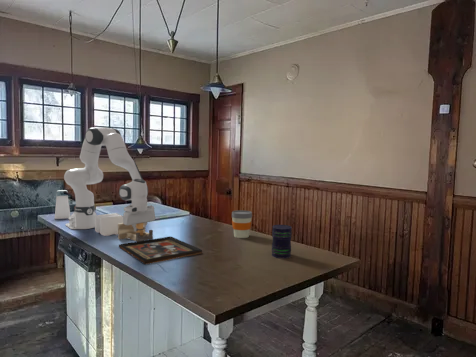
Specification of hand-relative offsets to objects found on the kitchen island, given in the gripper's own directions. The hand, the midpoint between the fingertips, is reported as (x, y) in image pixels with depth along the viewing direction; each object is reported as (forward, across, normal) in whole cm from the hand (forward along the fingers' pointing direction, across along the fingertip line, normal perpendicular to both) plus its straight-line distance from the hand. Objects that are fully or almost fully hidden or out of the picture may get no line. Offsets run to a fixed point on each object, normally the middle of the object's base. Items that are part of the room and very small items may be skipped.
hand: (139, 230), depth 209 cm
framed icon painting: (+6, +7, +26) cm, 28 cm away
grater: (+5, +1, -92) cm, 93 cm away
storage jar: (+5, -28, +80) cm, 84 cm away
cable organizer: (+5, +5, -24) cm, 25 cm away
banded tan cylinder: (+3, 0, 0) cm, 3 cm away
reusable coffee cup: (+5, -45, +40) cm, 61 cm away
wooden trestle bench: (+5, 0, -2) cm, 5 cm away
